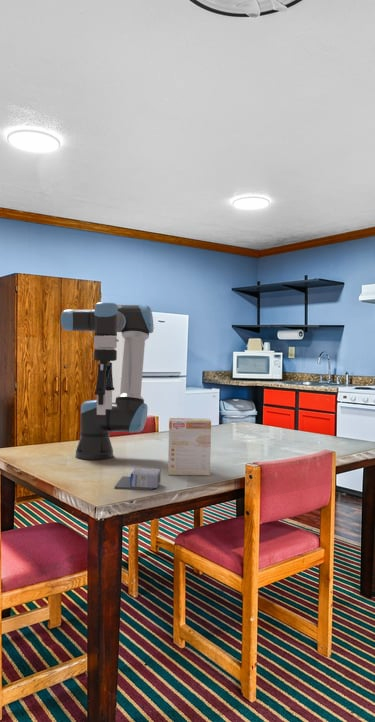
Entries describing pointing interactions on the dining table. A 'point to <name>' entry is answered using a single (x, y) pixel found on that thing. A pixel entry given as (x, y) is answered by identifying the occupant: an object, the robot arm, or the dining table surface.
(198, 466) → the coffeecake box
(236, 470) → the dining table surface
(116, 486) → the mat
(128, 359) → the robot arm
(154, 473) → the medicine box
